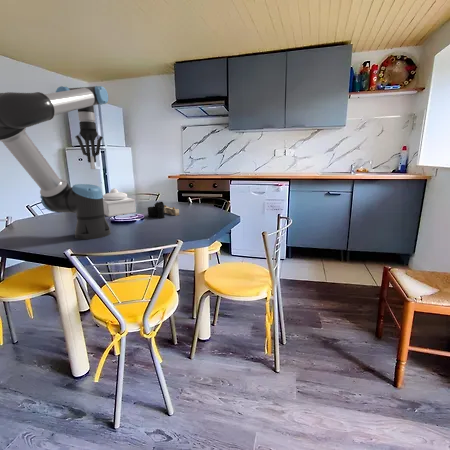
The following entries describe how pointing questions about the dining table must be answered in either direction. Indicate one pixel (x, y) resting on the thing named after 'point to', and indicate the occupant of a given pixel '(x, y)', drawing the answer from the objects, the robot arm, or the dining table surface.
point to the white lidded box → (118, 203)
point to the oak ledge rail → (171, 210)
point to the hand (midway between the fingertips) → (92, 168)
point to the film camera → (156, 210)
